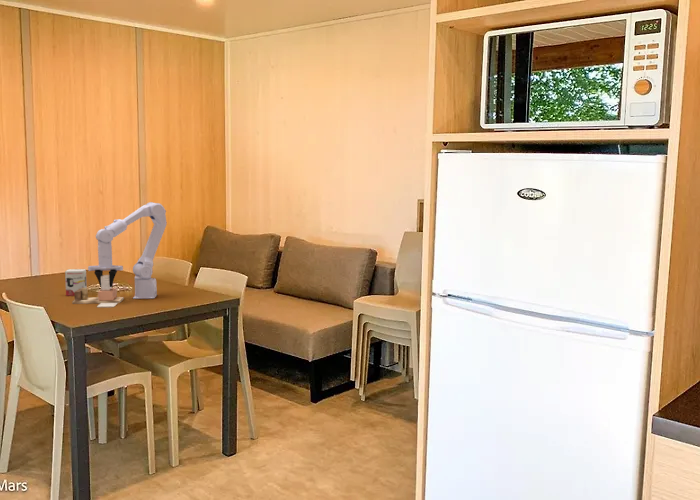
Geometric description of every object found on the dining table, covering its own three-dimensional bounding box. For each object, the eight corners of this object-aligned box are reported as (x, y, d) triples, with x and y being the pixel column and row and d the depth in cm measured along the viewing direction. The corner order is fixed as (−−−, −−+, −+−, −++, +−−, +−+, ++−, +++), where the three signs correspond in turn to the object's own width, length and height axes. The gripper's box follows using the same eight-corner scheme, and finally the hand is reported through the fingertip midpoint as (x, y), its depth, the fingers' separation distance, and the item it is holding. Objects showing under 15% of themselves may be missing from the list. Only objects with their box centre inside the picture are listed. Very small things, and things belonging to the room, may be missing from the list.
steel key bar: (111, 294, 296) (111, 274, 295) (109, 296, 292) (109, 276, 291) (103, 294, 296) (102, 275, 294) (101, 296, 292) (100, 276, 291)
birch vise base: (123, 299, 299) (123, 286, 298) (119, 302, 291) (119, 289, 290) (77, 299, 297) (77, 286, 296) (72, 303, 289) (71, 290, 288)
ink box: (65, 296, 305) (64, 271, 303) (67, 294, 310) (66, 269, 308) (85, 295, 307) (84, 270, 305) (87, 293, 311) (86, 268, 310)
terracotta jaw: (116, 296, 299) (116, 288, 298) (112, 300, 291) (112, 291, 290) (103, 296, 298) (102, 288, 297) (98, 300, 290) (98, 291, 290)
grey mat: (117, 303, 290) (117, 302, 290) (113, 307, 283) (113, 306, 283) (101, 303, 289) (101, 303, 289) (96, 307, 282) (96, 306, 282)
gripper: (85, 257, 287) (86, 288, 289) (120, 257, 289) (121, 288, 290) (90, 255, 294) (91, 285, 296) (123, 255, 296) (124, 285, 297)
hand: (106, 286), depth 294 cm, fingers closed on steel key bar, 4 cm apart
